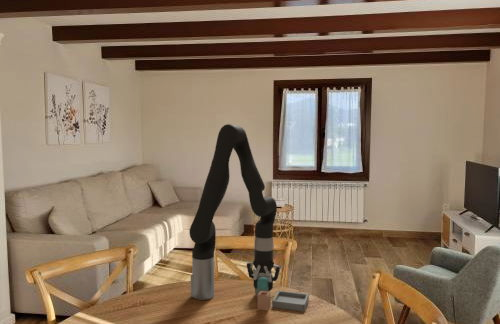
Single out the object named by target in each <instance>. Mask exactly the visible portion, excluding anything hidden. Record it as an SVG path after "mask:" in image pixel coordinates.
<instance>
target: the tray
mask: <svg viewBox="0 0 500 324" xmlns="http://www.w3.org/2000/svg"><path fill="white" fill-rule="evenodd" d="M309 296H310V293H303V292H294V291H288V290H287V291H285V290H277V292H276V294H275V296H274V297H273V299H272V300H271V301H272V302H271V304H272V305H271V307H272V308H274V309H283V310H290V311H298V312H305V311H306V308H307V306H308V304H309V299H310V297H309Z"/></svg>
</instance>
